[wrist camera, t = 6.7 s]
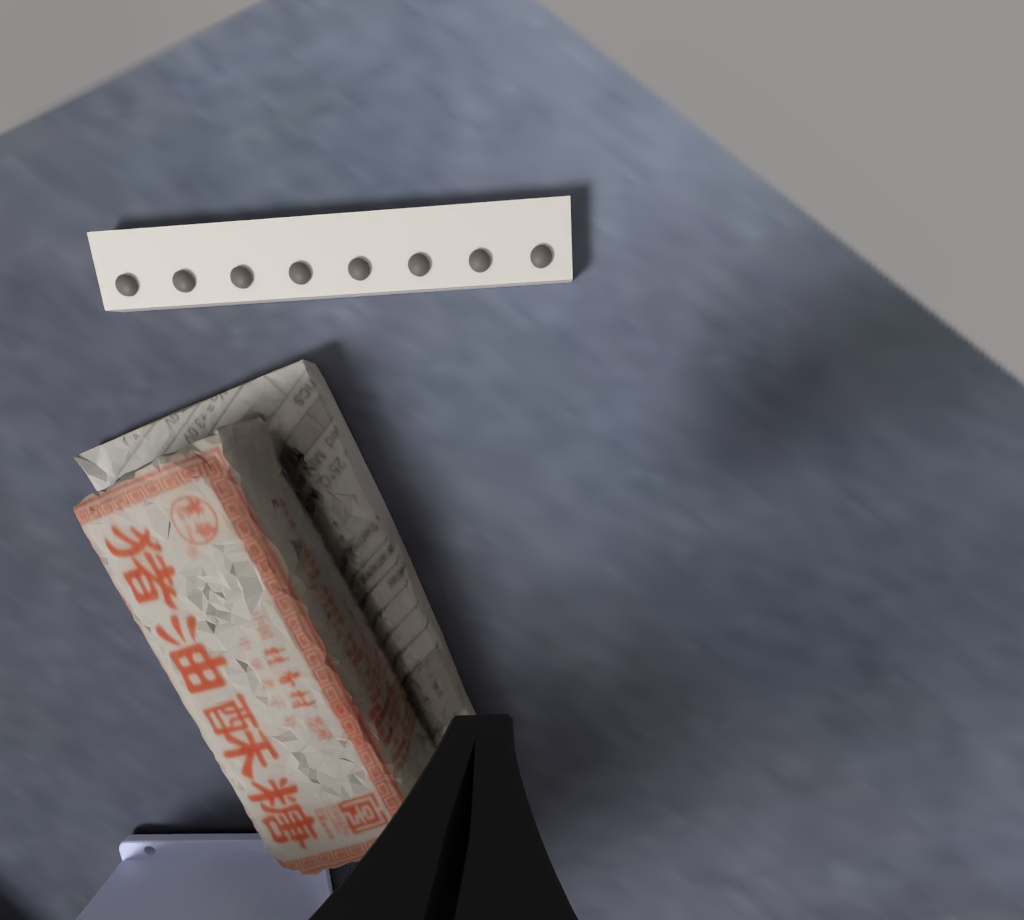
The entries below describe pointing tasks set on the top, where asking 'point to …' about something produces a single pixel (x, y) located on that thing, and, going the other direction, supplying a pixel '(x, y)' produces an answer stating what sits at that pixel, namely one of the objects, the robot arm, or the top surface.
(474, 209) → the perforated board
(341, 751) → the packaged product
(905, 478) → the top surface
